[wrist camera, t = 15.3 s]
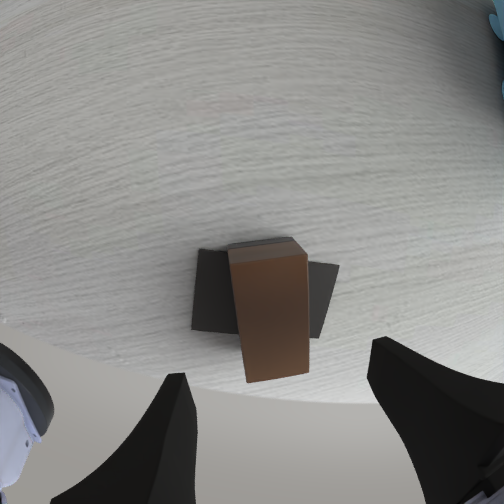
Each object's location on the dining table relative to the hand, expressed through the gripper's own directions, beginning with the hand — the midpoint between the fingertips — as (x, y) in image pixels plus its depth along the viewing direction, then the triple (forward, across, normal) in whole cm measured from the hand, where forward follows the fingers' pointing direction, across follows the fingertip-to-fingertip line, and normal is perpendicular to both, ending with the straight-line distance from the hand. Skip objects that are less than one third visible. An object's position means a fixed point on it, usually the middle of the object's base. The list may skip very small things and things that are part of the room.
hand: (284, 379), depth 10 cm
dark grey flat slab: (+7, 0, 0) cm, 7 cm away
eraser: (+7, 0, 0) cm, 7 cm away
